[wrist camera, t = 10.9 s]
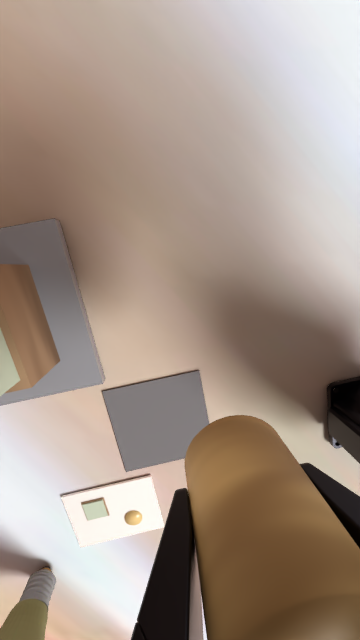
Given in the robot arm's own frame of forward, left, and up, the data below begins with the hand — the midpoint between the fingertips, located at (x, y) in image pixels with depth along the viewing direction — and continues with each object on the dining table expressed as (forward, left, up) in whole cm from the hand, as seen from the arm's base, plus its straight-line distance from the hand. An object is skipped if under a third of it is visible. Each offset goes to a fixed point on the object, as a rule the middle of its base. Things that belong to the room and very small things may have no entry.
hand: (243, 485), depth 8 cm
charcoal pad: (+4, +5, -11) cm, 13 cm away
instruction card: (+10, +13, -11) cm, 20 cm away
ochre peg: (0, 0, -1) cm, 1 cm away
